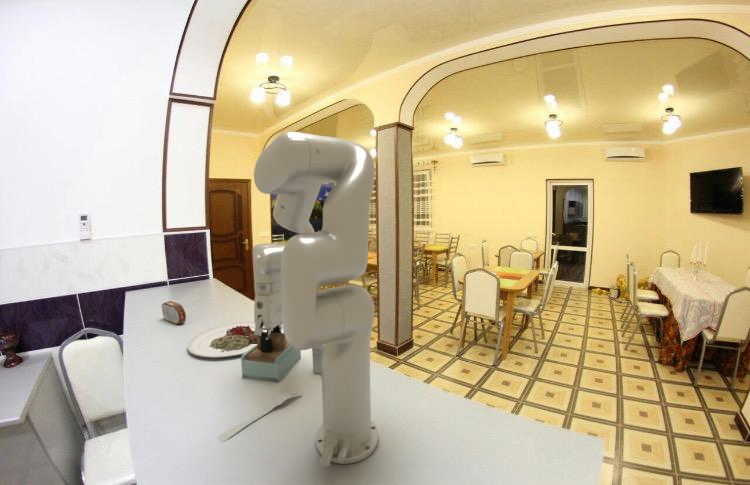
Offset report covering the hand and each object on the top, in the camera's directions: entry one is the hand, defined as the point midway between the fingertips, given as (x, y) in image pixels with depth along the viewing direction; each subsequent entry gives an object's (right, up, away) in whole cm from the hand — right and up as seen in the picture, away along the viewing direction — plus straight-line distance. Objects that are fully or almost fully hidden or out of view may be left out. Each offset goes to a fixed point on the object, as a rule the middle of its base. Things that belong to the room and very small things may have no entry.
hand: (271, 347), depth 91 cm
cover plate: (0, -2, 0) cm, 1 cm away
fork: (+5, -9, -20) cm, 23 cm away
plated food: (-19, -5, +20) cm, 28 cm away
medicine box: (+15, -7, +1) cm, 17 cm away
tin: (-54, -3, +40) cm, 67 cm away
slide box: (0, -6, +1) cm, 7 cm away
